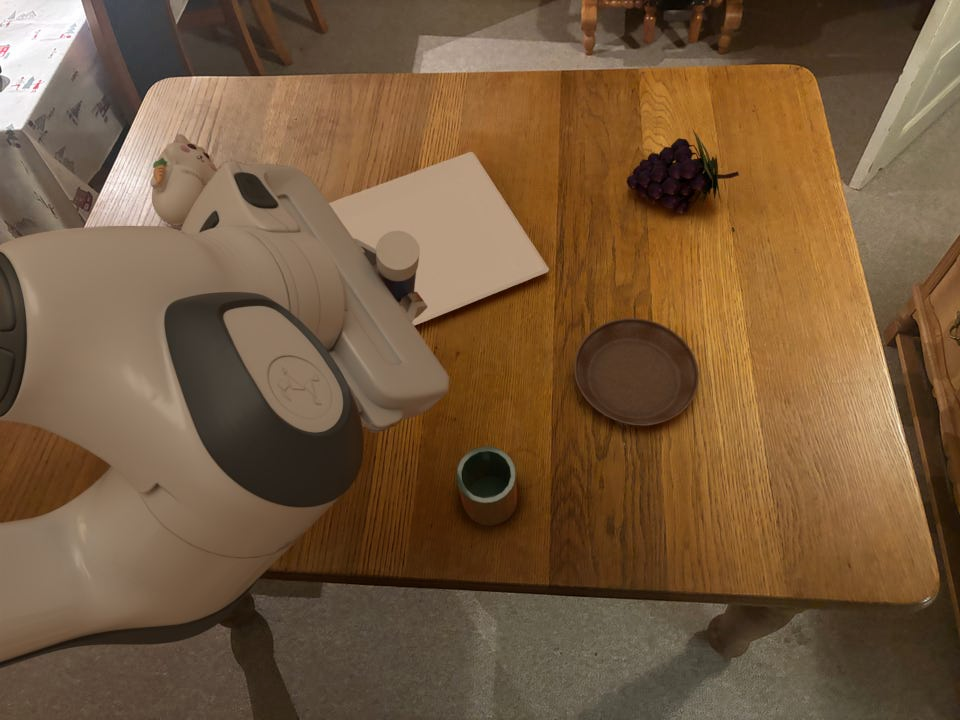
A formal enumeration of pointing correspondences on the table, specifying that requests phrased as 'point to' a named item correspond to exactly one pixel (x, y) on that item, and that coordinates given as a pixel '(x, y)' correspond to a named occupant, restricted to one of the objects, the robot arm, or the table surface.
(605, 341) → the saucer
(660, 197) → the fruit
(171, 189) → the cat figurine
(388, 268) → the marker
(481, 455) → the pen pot
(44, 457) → the table surface
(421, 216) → the beige flat square slab
